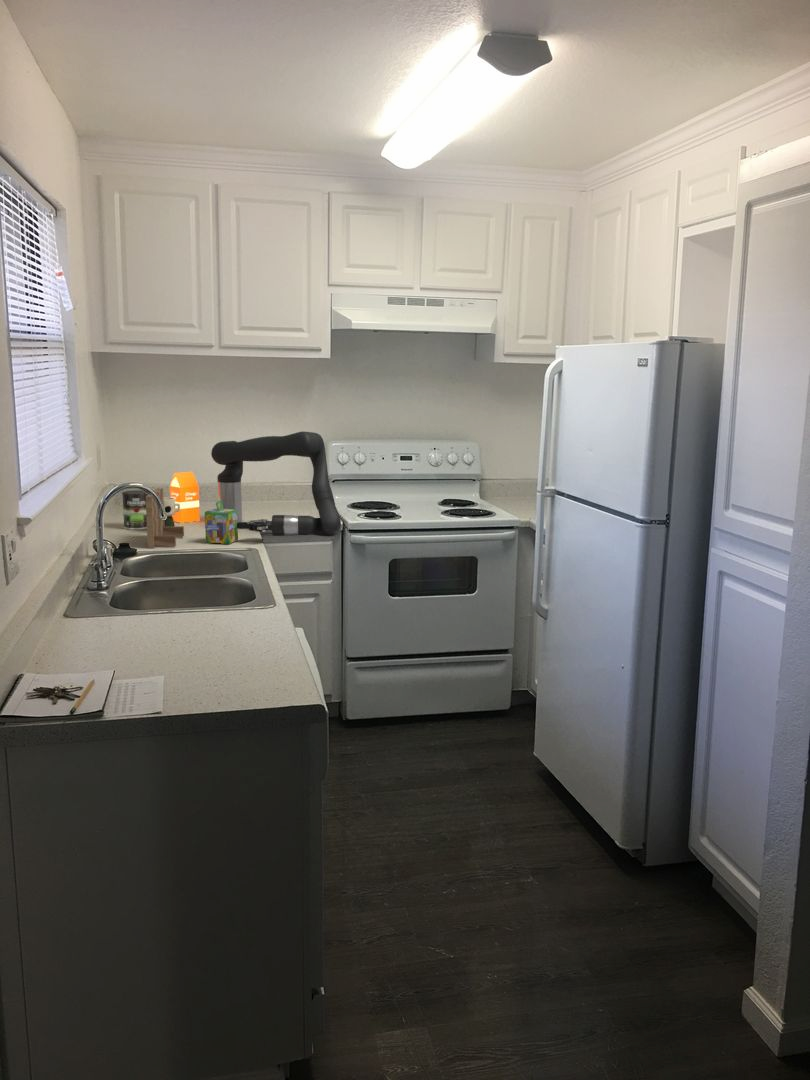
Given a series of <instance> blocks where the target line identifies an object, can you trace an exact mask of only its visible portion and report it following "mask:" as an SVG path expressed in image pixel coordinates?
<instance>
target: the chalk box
mask: <svg viewBox="0 0 810 1080" xmlns="http://www.w3.org/2000/svg"><path fill="white" fill-rule="evenodd" d="M219 504H220V505H221V508H219V506H218V505H219ZM215 506H216V508H213V509H210V510H206V511H204V527H205V544H206V543H221V544H220V545H231V544H233V543H235V542H237V540H238V541H239V529H237V522H238V519H237V510H233V509H223V505H222V502H221V501H218V500H217V501H216V502H215Z"/></svg>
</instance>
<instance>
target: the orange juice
mask: <svg viewBox="0 0 810 1080" xmlns="http://www.w3.org/2000/svg"><path fill="white" fill-rule="evenodd" d="M199 488H200V487H199V483H198V482H197V479H196V476H195V475H194V472H193V471H187V472H184V471H183V472H174V474H173V476H172V480H171V482H170V484H169V497H170V498H175V503H179V504H180V512H176V513H175V515H173V516H172V517H173V520H174V521H177V522H180V523H179V524H181V523H182V524H185V523H184V522H190V523H194V522H193V521H197V522H200V495H199V493H200V492H199ZM175 509H178V506H175Z"/></svg>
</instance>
